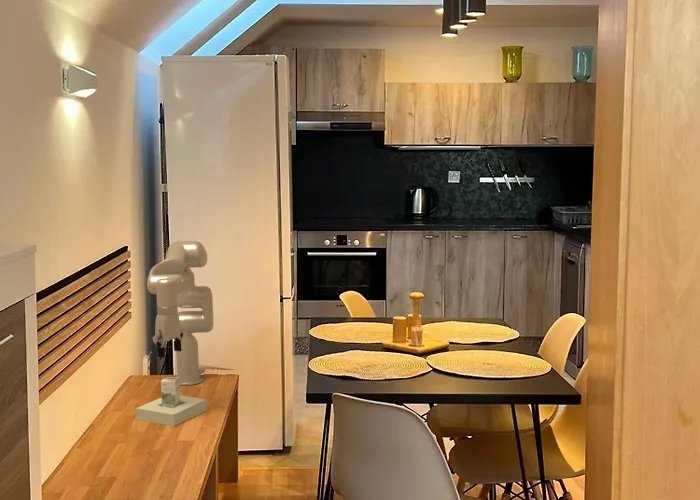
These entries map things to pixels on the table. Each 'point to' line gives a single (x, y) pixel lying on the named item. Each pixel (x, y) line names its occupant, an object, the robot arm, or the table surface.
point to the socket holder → (171, 411)
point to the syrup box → (170, 392)
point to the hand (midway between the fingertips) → (169, 354)
